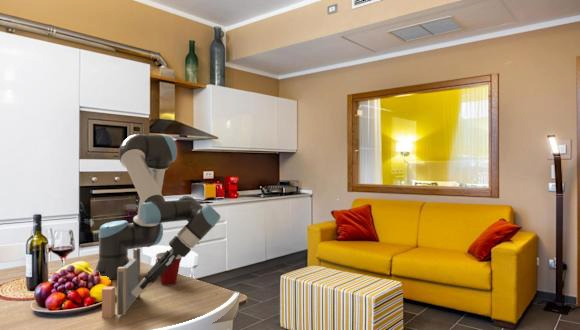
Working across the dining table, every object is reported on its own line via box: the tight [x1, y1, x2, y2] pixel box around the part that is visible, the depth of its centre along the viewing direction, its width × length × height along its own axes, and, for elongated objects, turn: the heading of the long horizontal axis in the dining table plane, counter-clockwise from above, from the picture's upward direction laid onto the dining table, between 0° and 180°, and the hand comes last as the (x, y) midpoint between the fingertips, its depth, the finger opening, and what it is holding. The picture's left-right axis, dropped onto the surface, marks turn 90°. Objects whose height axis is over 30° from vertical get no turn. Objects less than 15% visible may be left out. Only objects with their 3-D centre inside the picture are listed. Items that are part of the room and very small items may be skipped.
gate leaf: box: [116, 258, 138, 316], centre depth 137 cm, size 17×2×15 cm, turn 6°
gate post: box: [132, 248, 141, 300], centre depth 147 cm, size 2×2×18 cm
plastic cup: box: [155, 251, 183, 286], centre depth 165 cm, size 11×11×12 cm
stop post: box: [101, 286, 116, 318], centre depth 131 cm, size 3×3×9 cm
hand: (134, 294), depth 136 cm, fingers closed
